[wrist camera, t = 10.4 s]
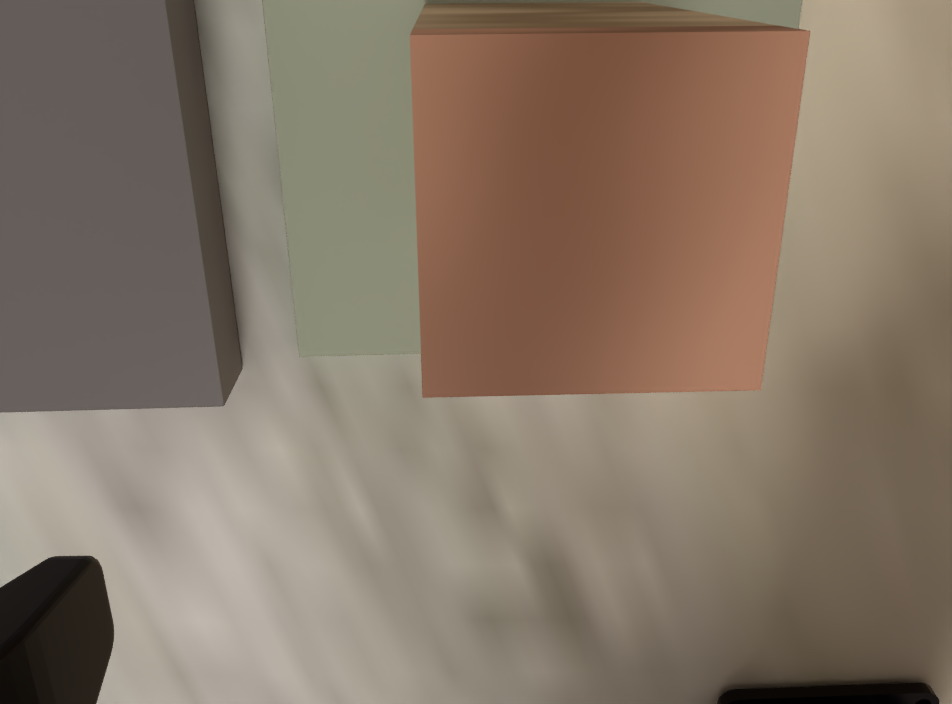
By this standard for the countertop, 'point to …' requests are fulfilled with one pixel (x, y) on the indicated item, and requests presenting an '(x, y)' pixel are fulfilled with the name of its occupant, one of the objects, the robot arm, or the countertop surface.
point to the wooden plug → (598, 195)
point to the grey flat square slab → (109, 212)
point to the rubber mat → (369, 161)
